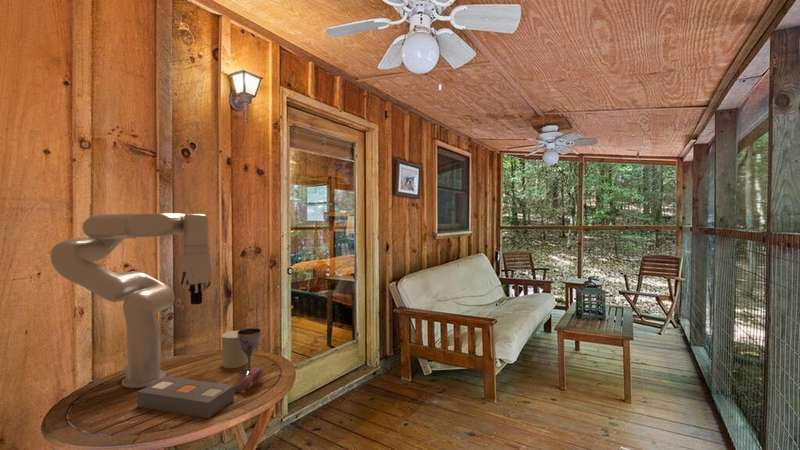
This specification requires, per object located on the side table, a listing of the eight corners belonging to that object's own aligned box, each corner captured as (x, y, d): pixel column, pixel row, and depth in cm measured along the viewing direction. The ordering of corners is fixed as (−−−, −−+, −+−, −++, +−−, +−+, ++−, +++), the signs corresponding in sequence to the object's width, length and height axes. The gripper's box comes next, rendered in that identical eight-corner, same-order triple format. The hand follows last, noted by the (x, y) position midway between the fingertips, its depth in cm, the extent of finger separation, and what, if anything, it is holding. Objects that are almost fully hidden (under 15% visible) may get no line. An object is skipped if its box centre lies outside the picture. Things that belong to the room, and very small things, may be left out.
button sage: (200, 404, 113) (200, 394, 113) (210, 397, 118) (210, 388, 118) (212, 406, 112) (212, 396, 112) (223, 399, 117) (223, 390, 117)
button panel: (137, 406, 115) (137, 391, 115) (168, 389, 126) (168, 376, 126) (208, 418, 109) (208, 402, 109) (234, 399, 120) (234, 385, 119)
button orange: (175, 400, 116) (174, 391, 116) (186, 394, 120) (186, 384, 120) (187, 402, 115) (187, 392, 114) (198, 395, 119) (198, 386, 119)
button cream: (150, 396, 118) (150, 387, 118) (162, 390, 122) (162, 381, 122) (162, 398, 117) (162, 389, 117) (174, 392, 121) (174, 382, 121)
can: (242, 368, 143) (242, 336, 143) (217, 368, 143) (217, 336, 143) (251, 359, 153) (251, 329, 152) (227, 359, 152) (227, 329, 152)
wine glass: (237, 377, 135) (237, 335, 135) (237, 369, 143) (237, 329, 142) (261, 374, 139) (261, 333, 138) (260, 366, 146) (260, 326, 145)
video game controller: (243, 398, 124) (251, 380, 123) (231, 391, 124) (240, 373, 124) (259, 385, 133) (267, 368, 133) (248, 378, 134) (257, 361, 133)
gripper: (203, 247, 138) (203, 298, 139) (168, 251, 124) (169, 308, 125) (220, 248, 137) (221, 299, 137) (188, 252, 122) (188, 309, 123)
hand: (196, 303), depth 131 cm, fingers closed
